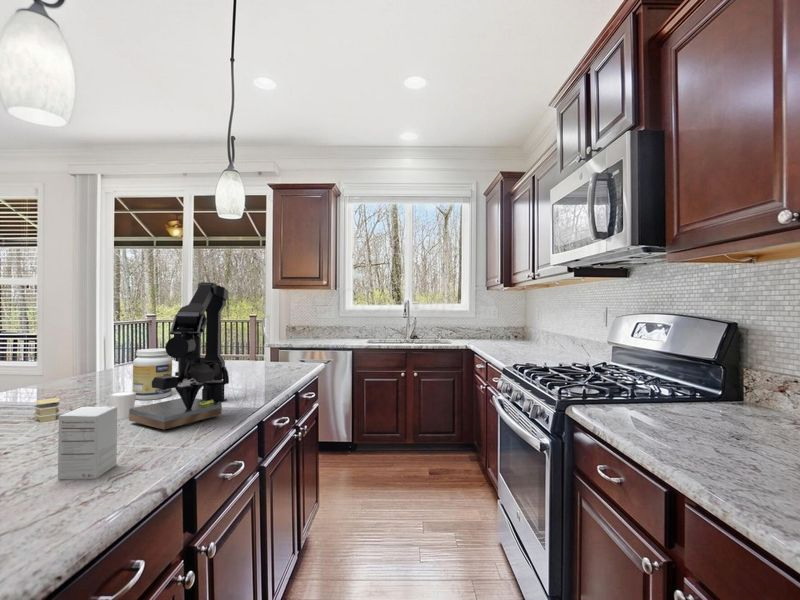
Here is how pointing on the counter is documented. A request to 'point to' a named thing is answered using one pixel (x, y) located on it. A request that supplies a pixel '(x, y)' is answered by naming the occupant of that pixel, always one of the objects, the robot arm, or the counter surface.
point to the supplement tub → (150, 373)
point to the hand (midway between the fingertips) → (188, 408)
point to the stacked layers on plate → (46, 409)
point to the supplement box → (87, 442)
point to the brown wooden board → (176, 422)
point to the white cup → (122, 403)
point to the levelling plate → (174, 409)
